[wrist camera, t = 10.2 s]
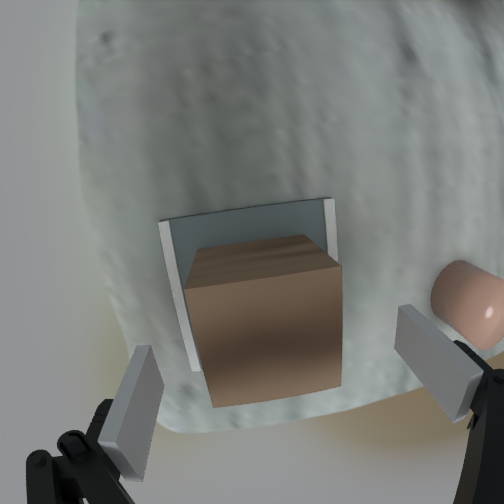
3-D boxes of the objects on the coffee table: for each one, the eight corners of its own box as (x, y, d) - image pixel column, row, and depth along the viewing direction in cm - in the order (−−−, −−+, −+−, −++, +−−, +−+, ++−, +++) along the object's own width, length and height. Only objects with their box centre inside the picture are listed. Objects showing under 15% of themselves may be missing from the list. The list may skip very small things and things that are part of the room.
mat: (160, 220, 23) (157, 222, 22) (330, 197, 23) (334, 198, 22) (192, 365, 26) (192, 371, 25) (336, 343, 27) (339, 348, 26)
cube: (197, 249, 23) (184, 289, 15) (304, 234, 23) (341, 265, 15) (215, 342, 25) (213, 407, 17) (310, 327, 25) (340, 386, 18)
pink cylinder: (433, 266, 26) (480, 292, 19) (476, 256, 26) (522, 276, 19) (427, 325, 27) (466, 359, 21) (469, 310, 28) (509, 338, 21)
